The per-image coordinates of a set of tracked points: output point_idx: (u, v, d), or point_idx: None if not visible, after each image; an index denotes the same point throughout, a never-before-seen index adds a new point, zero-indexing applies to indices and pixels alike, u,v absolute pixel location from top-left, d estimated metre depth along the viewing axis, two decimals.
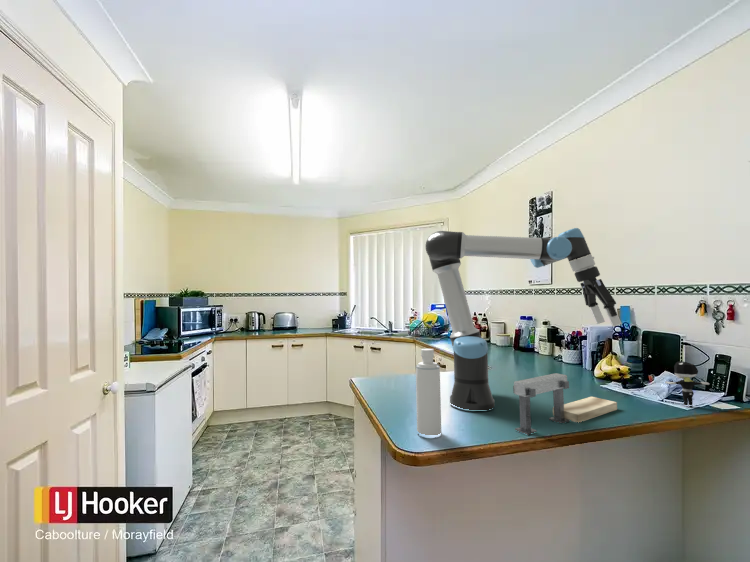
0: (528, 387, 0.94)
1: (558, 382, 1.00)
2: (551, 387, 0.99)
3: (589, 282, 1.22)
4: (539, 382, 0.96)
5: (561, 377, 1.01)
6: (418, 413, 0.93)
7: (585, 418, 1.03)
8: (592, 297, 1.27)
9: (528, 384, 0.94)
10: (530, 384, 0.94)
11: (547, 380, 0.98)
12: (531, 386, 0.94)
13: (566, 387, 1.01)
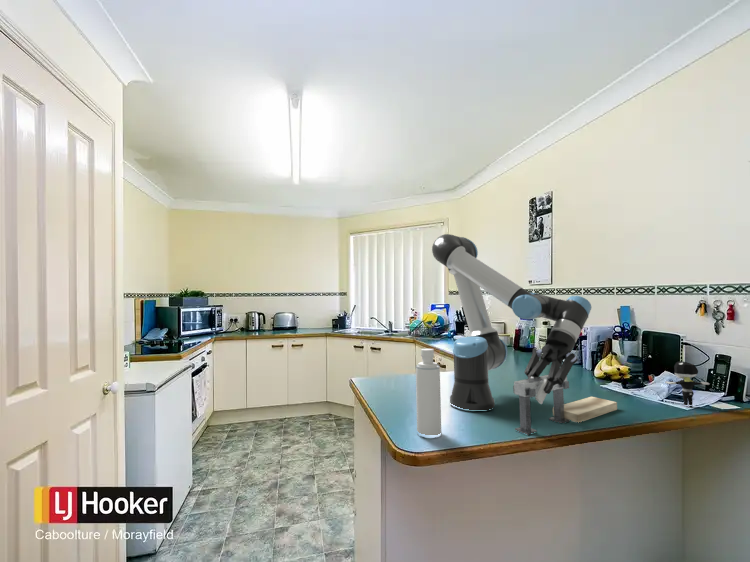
0: (528, 387, 0.94)
1: None
2: None
3: (564, 347, 1.01)
4: (539, 382, 0.96)
5: None
6: (418, 413, 0.93)
7: (585, 418, 1.03)
8: (542, 366, 1.03)
9: (528, 384, 0.94)
10: (530, 384, 0.94)
11: (547, 380, 0.98)
12: (531, 386, 0.94)
13: (566, 387, 1.01)
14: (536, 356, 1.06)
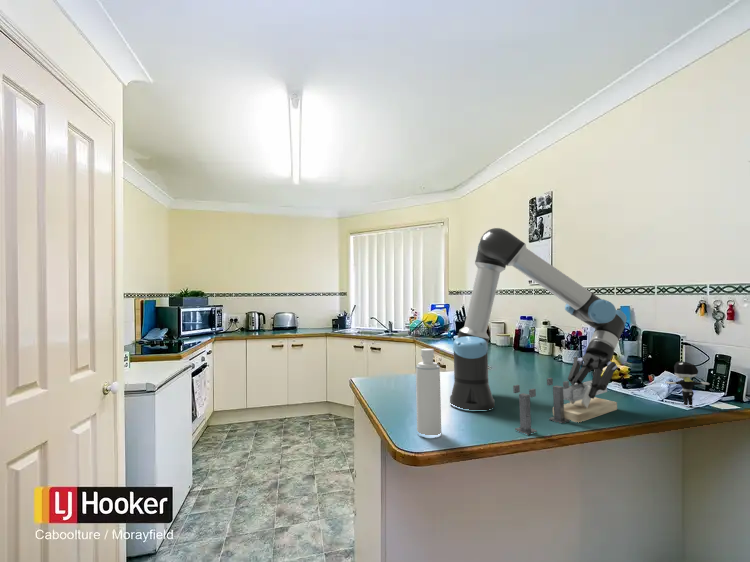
0: (576, 392, 1.05)
1: None
2: None
3: (604, 356, 1.12)
4: (584, 388, 1.07)
5: None
6: (418, 413, 0.93)
7: (585, 418, 1.03)
8: (584, 373, 1.14)
9: (575, 390, 1.05)
10: (577, 390, 1.05)
11: None
12: (578, 392, 1.05)
13: (566, 387, 1.01)
14: (577, 364, 1.17)
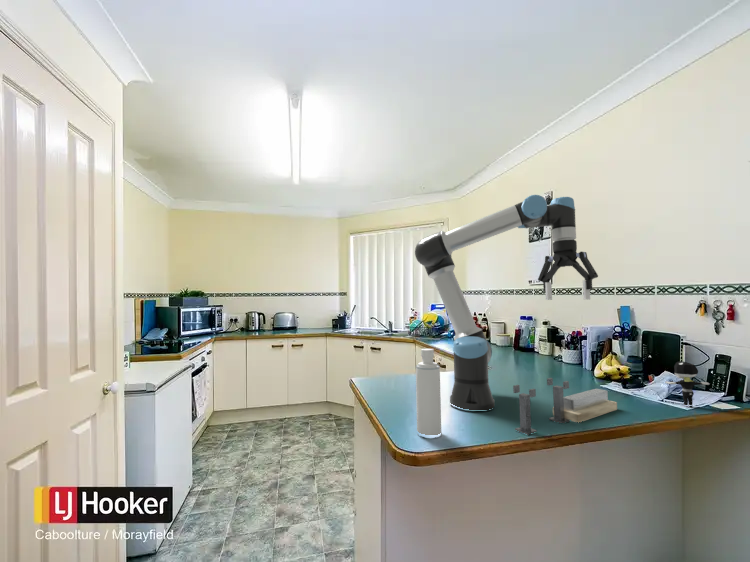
0: (576, 402, 1.04)
1: (600, 397, 1.11)
2: (595, 402, 1.10)
3: (569, 253, 1.19)
4: (585, 398, 1.07)
5: (603, 392, 1.12)
6: (418, 413, 0.93)
7: (585, 418, 1.03)
8: (553, 272, 1.25)
9: (576, 400, 1.04)
10: (577, 400, 1.05)
11: (591, 396, 1.09)
12: (578, 401, 1.05)
13: (566, 387, 1.01)
14: (548, 263, 1.26)
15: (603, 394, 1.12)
